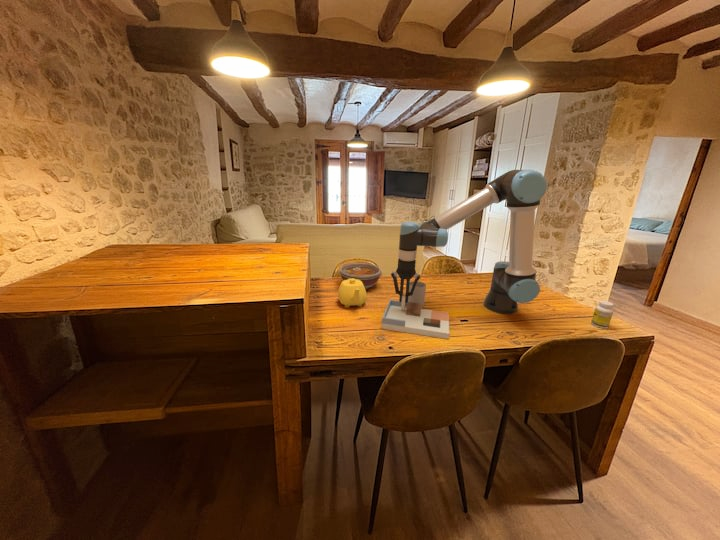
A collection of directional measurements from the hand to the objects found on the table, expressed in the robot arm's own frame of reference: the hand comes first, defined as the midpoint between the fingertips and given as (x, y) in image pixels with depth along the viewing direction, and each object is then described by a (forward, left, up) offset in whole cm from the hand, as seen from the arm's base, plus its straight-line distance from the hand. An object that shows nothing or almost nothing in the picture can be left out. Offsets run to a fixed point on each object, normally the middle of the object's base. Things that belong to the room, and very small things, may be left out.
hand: (403, 308), depth 136 cm
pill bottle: (-85, -17, -4) cm, 87 cm away
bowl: (+28, -28, -4) cm, 40 cm away
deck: (-6, +6, -3) cm, 9 cm away
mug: (-4, -14, -4) cm, 16 cm away
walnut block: (-5, +1, -1) cm, 5 cm away
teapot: (+25, -3, -4) cm, 25 cm away
